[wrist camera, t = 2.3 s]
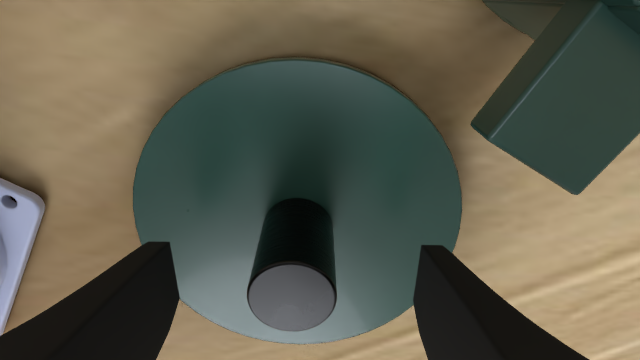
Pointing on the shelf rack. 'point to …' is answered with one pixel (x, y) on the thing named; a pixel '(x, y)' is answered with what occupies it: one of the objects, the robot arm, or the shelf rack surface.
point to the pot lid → (297, 198)
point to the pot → (568, 88)
